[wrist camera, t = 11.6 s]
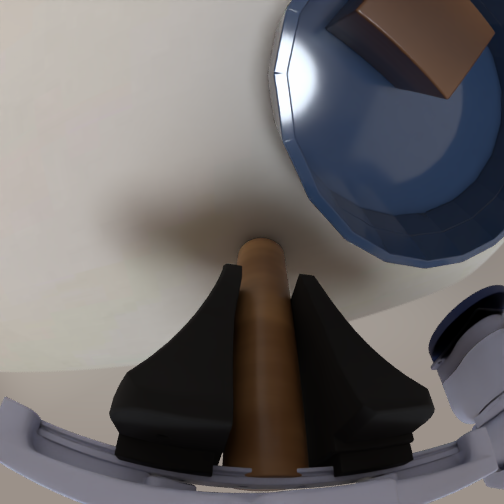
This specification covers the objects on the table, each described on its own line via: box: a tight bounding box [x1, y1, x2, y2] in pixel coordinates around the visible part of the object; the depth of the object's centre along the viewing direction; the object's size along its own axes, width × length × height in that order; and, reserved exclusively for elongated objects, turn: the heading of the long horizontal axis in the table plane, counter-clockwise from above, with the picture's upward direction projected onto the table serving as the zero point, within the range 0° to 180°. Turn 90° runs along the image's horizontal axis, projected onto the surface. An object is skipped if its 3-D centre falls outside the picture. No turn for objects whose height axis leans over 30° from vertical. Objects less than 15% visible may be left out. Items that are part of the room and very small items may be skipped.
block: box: [326, 0, 495, 100], centre depth 7 cm, size 4×4×4 cm
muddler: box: [222, 238, 309, 491], centre depth 11 cm, size 2×2×11 cm
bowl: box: [268, 0, 504, 268], centre depth 9 cm, size 13×13×4 cm
